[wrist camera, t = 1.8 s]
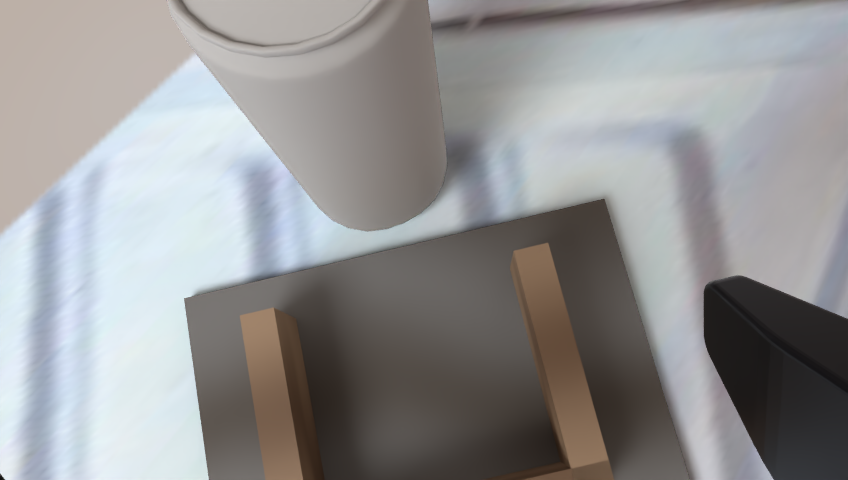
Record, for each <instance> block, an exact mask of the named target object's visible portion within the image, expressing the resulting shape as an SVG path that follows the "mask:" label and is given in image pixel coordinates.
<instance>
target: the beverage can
mask: <svg viewBox="0 0 848 480" xmlns="http://www.w3.org/2000/svg"><path fill="white" fill-rule="evenodd" d="M166 1H167V4H168V8H169V11H170V15H171V16H172V18H173V20H174V22H175V23H176V25H177V26H178V28H179V30H180V31H181V33H182V34H183V36H184V38H185V39H186V41H187V42H188V44H189V45H190V47H191V48H192V49H193V50H194V52H195V53H196V54H197V56H198V57H199V58H200V59H201V61H202V62H203V63H204V64H205V66H206V67H207V68H208V69H209V71H210V72H211V73H212V74H213V76H214V77H215V78H216V79H217V81H218V82H219V83H220V85H221V86H222V87H223V88H224V90H225V91H226V92H227V93H228V95H229V96H230V97H231V98H232V100H233V101H234V102H235V103H236V105H237V106H238V107H239V108H240V110H241V111H242V112H243V113H244V115H245V116H246V117H247V118H248V120H249V121H250V122H251V124H252V125H253V126H254V127H255V129H256V130H257V131H258V132H259V134H260V135H261V136H262V137H263V139H264V140H265V141H266V142H267V144H268V145H269V146H270V147H271V149H272V150H273V151H274V152H275V154H276V155H277V156H278V157H279V159H280V160H281V161H282V163H283V164H284V165H285V166H286V168H287V169H288V170H289V171H290V173H291V174H292V175H293V176H294V178H295V179H296V180H297V181H298V183H299V184H300V185H301V186H302V188H303V189H304V190H305V191H306V193H307V194H308V195H309V197H310V198H311V199H312V200H313V202H314V203H315V204H316V205H317V207H318V208H319V209H320V210H321V211H323V212H324V213H325V214H326V215H327V216H328V217H329V218H330V219H331V220H333V221H335V222H337V223H339V224H341V225H343V226H345V227H347V228H350V229H356V230H362V231H375V230H383V229H388V228H391V227H394V226H396V225H399V224H402V223H404V222H406V221H408V220H410V219H411V218H413V217H415V216H417V215H418V214H420V213H422V212H423V211H424V210H425V209H426V208H427V207H428V206H429V205H430V204H431V203H432V202H433V201H434V200H435V198H436V196H437V194H438V192H439V191H440V189H441V187H442V185H443V183H444V178H445V174H446V169H447V154H446V143H445V135H444V126H443V118H442V110H441V102H440V94H439V86H438V78H437V70H436V62H435V54H434V46H433V38H432V30H431V22H430V14H429V6H428V0H166Z"/></svg>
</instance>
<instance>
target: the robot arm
mask: <svg viewBox="0 0 848 480" xmlns="http://www.w3.org/2000/svg"><path fill="white" fill-rule="evenodd" d="M704 339H705V344H706V348H707V351H708V353H709V355H710V358H711V360H712V362H713V364H714V366H715V368H716V370H717V372H718V374H719V376H720V378H721V380H722V382H723V384H724V386H725V388H726V390H727V392H728V394H729V396H730V398H731V400H732V402H733V404H734V406H735V408H736V410H737V412H738V414H739V416H740V418H741V420H742V422H743V424H744V426H745V428H746V430H747V432H748V434H749V436H750V438H751V440H752V442H753V444H754V446H755V447H756V449H757V451H758V453H759V455H760V457H761V459H762V461H763V463H764V464H765V466H766V467H767V469H768V471H769V472H770V474H771V476H772V477H773V479H774V480H848V319H847V318H845V317H842V316H840V315H837V314H835V313H832V312H830V311H828V310H825V309H823V308H820V307H818V306H815V305H813V304H810V303H808V302H806V301H803V300H801V299H798V298H796V297H793V296H791V295H789V294H786V293H784V292H781V291H779V290H776V289H774V288H771V287H769V286H767V285H764V284H762V283H759V282H757V281H754V280H752V279H750V278H747V277H744V276H739V275H738V276H732V277H728V278H723V279H719V280H715V281H711V282H709V283H708V284H707V285H706V286H705V289H704ZM0 480H5V479H4V478H3V477H2V475H1V474H0Z"/></svg>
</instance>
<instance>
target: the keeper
mask: <svg viewBox="0 0 848 480" xmlns="http://www.w3.org/2000/svg"><path fill="white" fill-rule="evenodd" d="M184 301H185V308H186V316H187V323H188V330H189V337H190V345H191V352H192V359H193V367H194V374H195V381H196V388H197V396H198V403H199V410H200V418H201V425H202V432H203V439H204V447H205V454H206V461H207V468H208V476H209V480H690V478H689V475H688V472H687V469H686V465H685V462H684V459H683V456H682V452H681V449H680V446H679V442H678V439H677V436H676V433H675V429H674V426H673V423H672V419H671V416H670V413H669V410H668V406H667V403H666V400H665V396H664V393H663V390H662V387H661V383H660V380H659V377H658V374H657V370H656V367H655V364H654V360H653V357H652V354H651V351H650V347H649V344H648V341H647V337H646V334H645V331H644V328H643V324H642V321H641V318H640V314H639V311H638V308H637V305H636V301H635V298H634V295H633V292H632V288H631V285H630V282H629V278H628V275H627V272H626V269H625V265H624V262H623V259H622V255H621V252H620V249H619V246H618V242H617V239H616V236H615V232H614V229H613V226H612V223H611V219H610V216H609V213H608V209H607V206H606V203H605V200H604V199H602V200H597V201H593V202H589V203H585V204H580V205H576V206H572V207H568V208H564V209H559V210H555V211H551V212H547V213H543V214H538V215H534V216H530V217H526V218H521V219H517V220H513V221H509V222H505V223H500V224H496V225H492V226H488V227H483V228H479V229H475V230H471V231H467V232H462V233H458V234H454V235H450V236H446V237H441V238H437V239H433V240H429V241H424V242H420V243H416V244H412V245H408V246H403V247H399V248H395V249H391V250H386V251H382V252H378V253H374V254H370V255H365V256H361V257H357V258H353V259H349V260H344V261H340V262H336V263H332V264H327V265H323V266H319V267H315V268H311V269H306V270H302V271H298V272H294V273H289V274H285V275H281V276H277V277H273V278H268V279H264V280H260V281H256V282H252V283H247V284H243V285H239V286H235V287H230V288H226V289H222V290H218V291H214V292H209V293H205V294H201V295H197V296H192V297H188V298H184Z"/></svg>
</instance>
